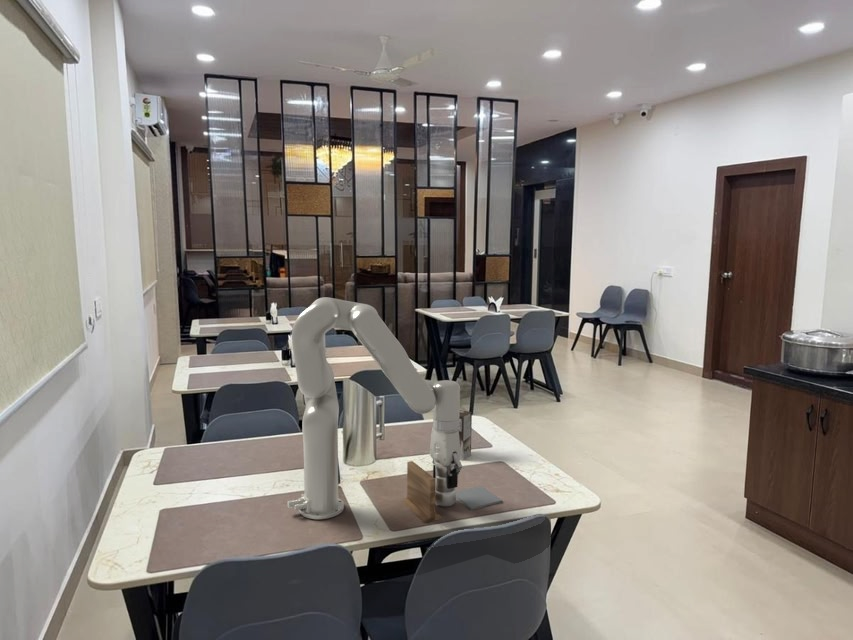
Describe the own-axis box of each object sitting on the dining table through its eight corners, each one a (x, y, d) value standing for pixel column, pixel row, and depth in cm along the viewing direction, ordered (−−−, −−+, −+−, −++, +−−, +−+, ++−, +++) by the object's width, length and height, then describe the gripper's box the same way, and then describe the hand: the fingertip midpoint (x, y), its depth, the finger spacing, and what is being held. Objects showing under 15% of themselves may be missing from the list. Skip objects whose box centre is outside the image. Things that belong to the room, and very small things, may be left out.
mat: (470, 509, 161) (470, 507, 161) (451, 494, 170) (451, 492, 170) (502, 502, 166) (502, 500, 166) (481, 487, 176) (481, 485, 176)
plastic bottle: (454, 510, 160) (455, 443, 158) (431, 508, 162) (432, 441, 159) (457, 500, 167) (459, 435, 164) (435, 498, 168) (436, 434, 165)
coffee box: (471, 455, 202) (472, 411, 200) (463, 460, 197) (464, 416, 195) (449, 449, 207) (450, 407, 205) (440, 455, 202) (441, 411, 200)
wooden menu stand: (424, 522, 153) (424, 481, 151) (401, 501, 165) (402, 462, 164) (440, 518, 155) (440, 477, 154) (416, 498, 168) (417, 460, 166)
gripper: (420, 417, 167) (419, 473, 169) (450, 435, 151) (449, 497, 154) (442, 413, 170) (441, 469, 173) (473, 431, 155) (472, 491, 157)
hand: (445, 481), depth 163 cm, fingers open, 7 cm apart
